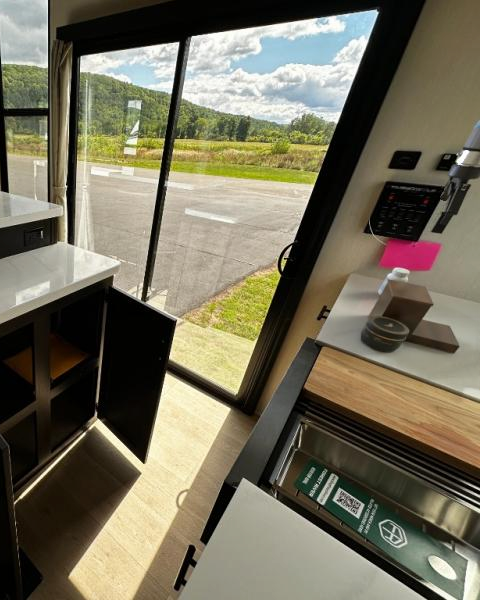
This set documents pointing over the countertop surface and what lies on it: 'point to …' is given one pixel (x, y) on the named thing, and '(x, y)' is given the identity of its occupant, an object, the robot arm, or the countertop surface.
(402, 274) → the pill bottle
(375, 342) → the jar
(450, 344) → the step shelf
